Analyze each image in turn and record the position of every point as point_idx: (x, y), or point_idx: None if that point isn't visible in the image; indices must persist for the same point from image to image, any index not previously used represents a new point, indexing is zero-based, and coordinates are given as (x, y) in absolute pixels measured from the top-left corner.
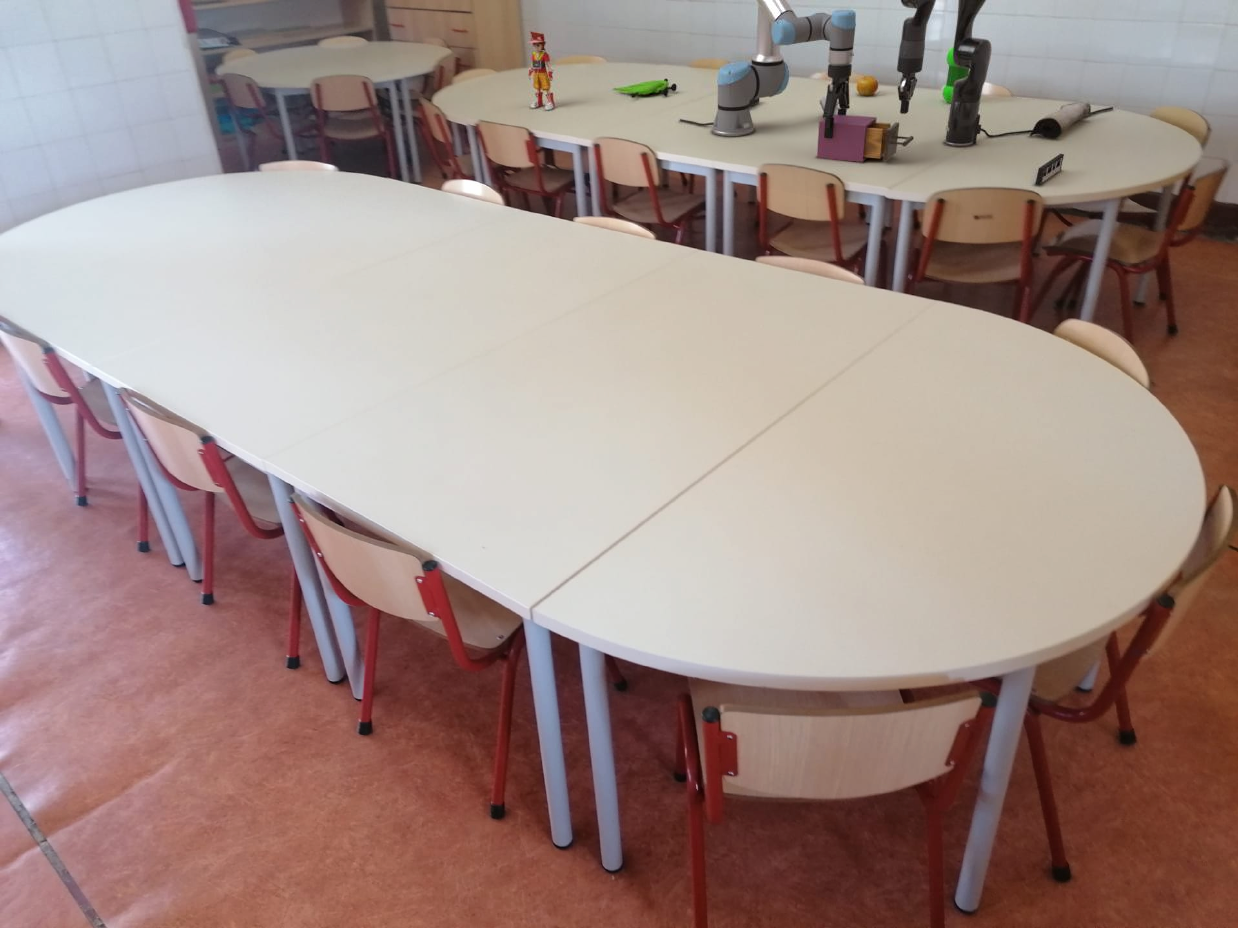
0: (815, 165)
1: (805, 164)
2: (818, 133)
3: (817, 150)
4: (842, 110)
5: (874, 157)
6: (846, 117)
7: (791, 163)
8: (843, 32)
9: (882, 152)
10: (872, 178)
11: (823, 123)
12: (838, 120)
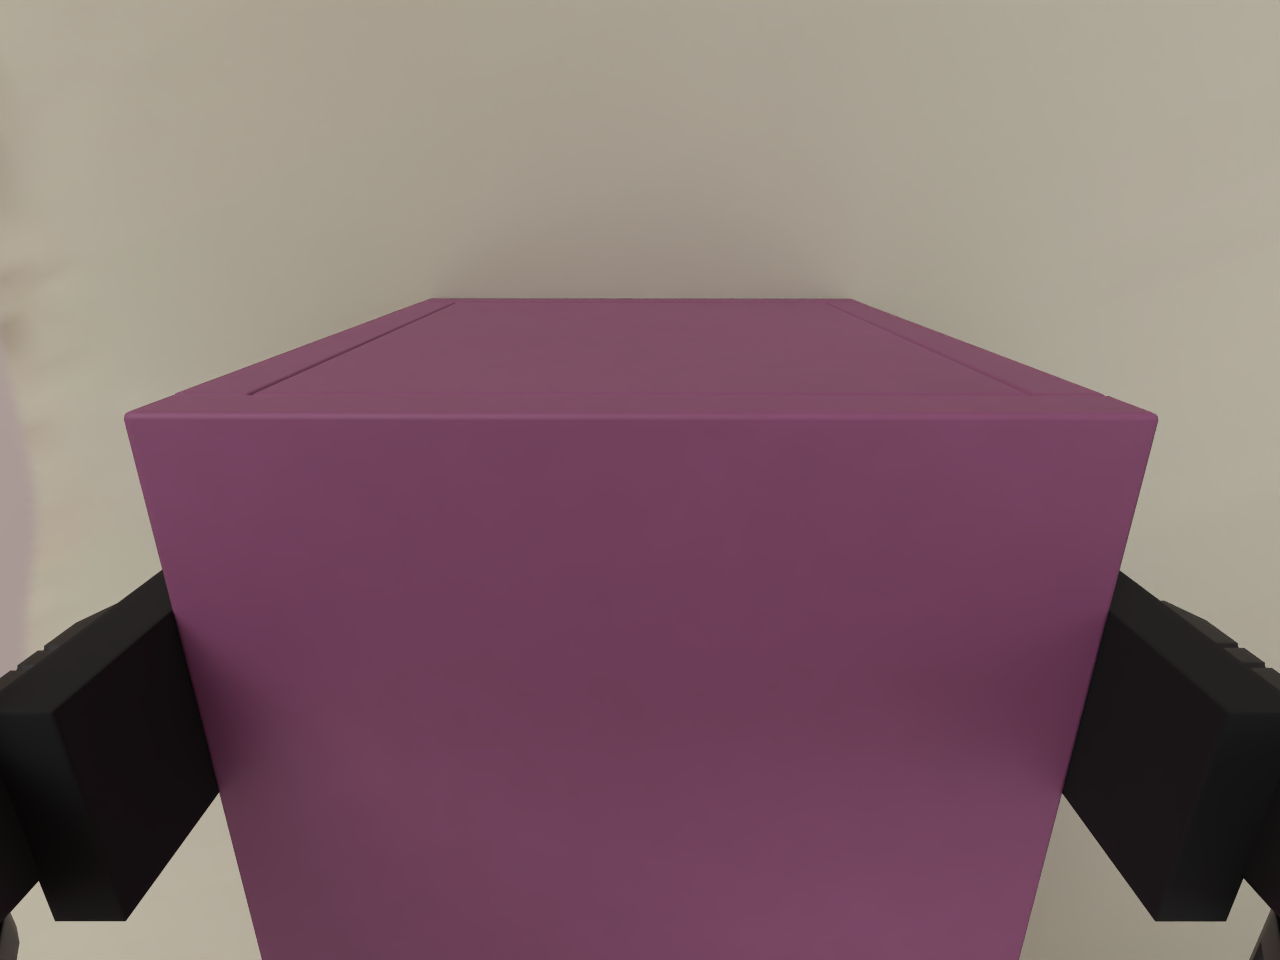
0: (144, 397)
1: (104, 265)
2: (286, 352)
3: (399, 310)
4: (1172, 814)
5: None
6: (833, 880)
7: (22, 53)
8: None
9: None
10: (119, 948)
11: (173, 534)
12: (500, 813)
